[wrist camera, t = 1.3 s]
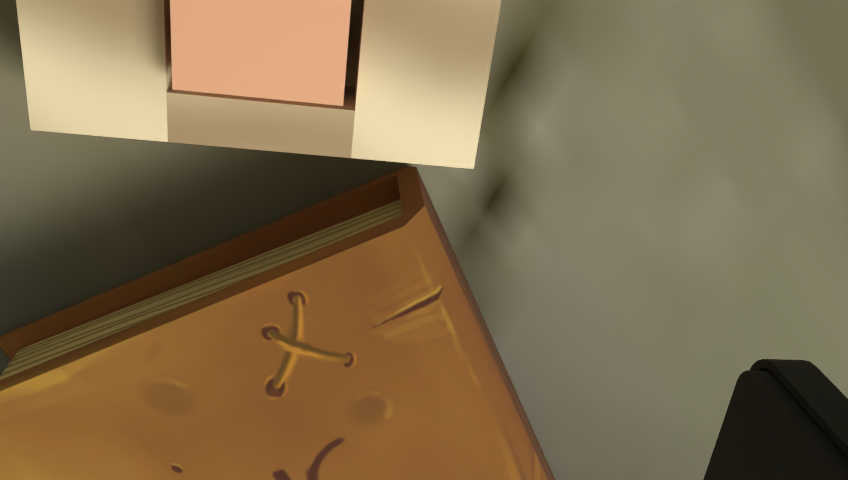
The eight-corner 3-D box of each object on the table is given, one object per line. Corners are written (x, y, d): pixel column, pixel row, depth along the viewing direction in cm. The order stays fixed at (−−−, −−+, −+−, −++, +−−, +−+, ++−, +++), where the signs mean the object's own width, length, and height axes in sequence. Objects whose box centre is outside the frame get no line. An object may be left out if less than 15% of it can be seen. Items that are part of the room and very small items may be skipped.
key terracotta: (186, -100, 21) (167, -97, 19) (356, -78, 22) (356, -72, 20) (189, 69, 24) (172, 89, 21) (343, 84, 24) (343, 106, 22)
